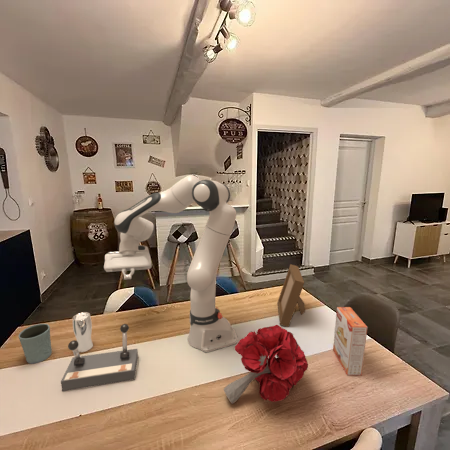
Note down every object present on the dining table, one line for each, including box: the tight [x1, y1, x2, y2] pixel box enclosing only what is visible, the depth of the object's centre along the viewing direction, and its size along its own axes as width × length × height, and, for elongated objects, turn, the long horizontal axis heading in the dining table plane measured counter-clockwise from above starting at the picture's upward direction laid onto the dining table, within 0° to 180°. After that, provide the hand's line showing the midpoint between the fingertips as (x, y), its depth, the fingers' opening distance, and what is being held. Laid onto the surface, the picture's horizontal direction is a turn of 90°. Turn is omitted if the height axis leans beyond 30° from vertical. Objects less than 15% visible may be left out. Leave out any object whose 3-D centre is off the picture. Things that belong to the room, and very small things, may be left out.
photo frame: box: [277, 263, 306, 328], centre depth 134 cm, size 15×22×25 cm
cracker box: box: [332, 306, 369, 376], centre depth 101 cm, size 14×6×21 cm, turn 178°
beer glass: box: [72, 311, 94, 353], centre depth 110 cm, size 7×7×15 cm
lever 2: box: [119, 323, 130, 359], centre depth 100 cm, size 3×3×13 cm
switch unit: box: [60, 348, 139, 392], centre depth 97 cm, size 24×12×4 cm, turn 103°
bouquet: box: [223, 324, 309, 405], centre depth 88 cm, size 22×24×30 cm
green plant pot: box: [18, 323, 53, 365], centre depth 105 cm, size 10×10×12 cm
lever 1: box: [67, 339, 85, 366], centre depth 93 cm, size 3×3×13 cm
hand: (127, 279), depth 113 cm, fingers closed
